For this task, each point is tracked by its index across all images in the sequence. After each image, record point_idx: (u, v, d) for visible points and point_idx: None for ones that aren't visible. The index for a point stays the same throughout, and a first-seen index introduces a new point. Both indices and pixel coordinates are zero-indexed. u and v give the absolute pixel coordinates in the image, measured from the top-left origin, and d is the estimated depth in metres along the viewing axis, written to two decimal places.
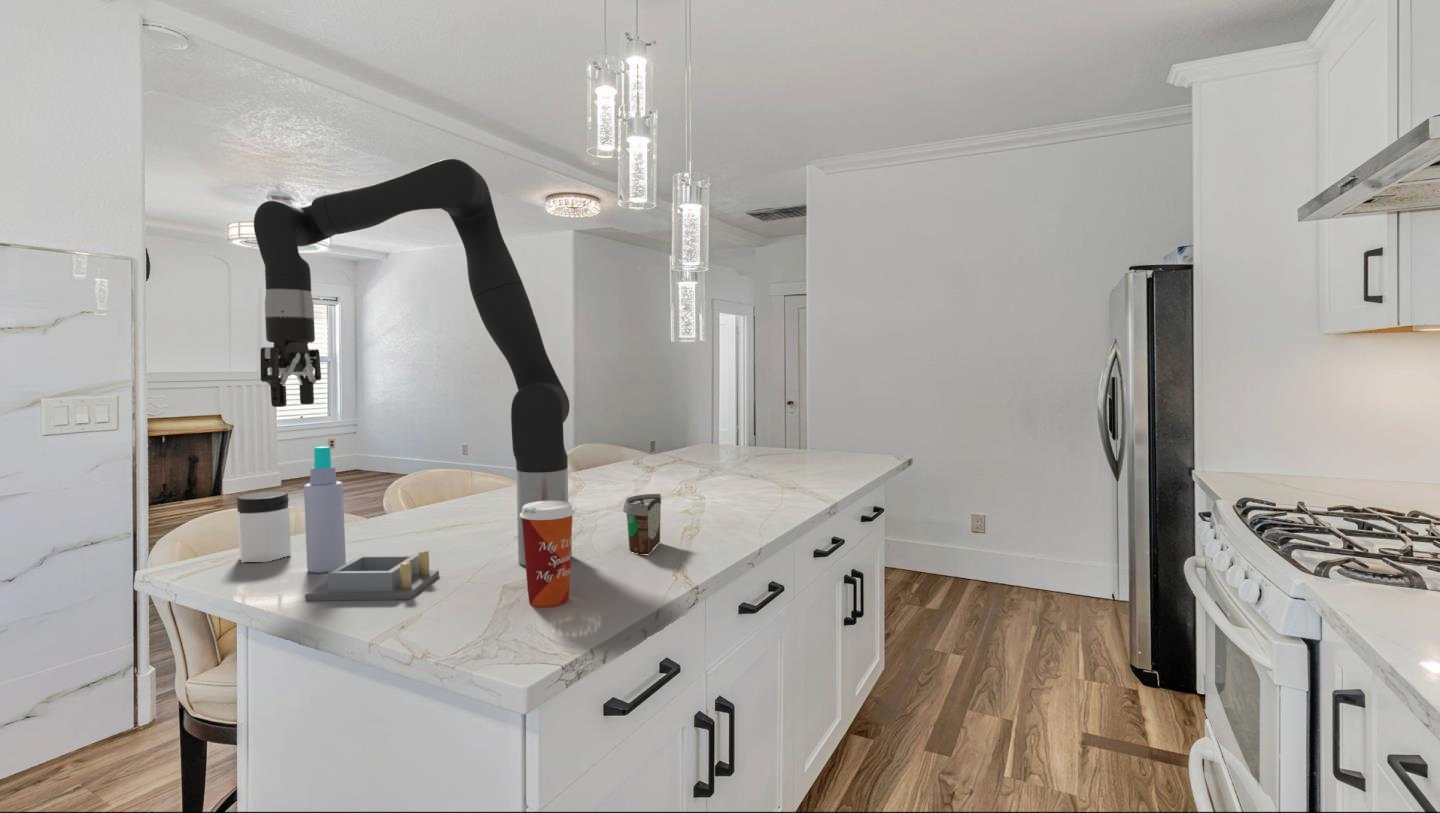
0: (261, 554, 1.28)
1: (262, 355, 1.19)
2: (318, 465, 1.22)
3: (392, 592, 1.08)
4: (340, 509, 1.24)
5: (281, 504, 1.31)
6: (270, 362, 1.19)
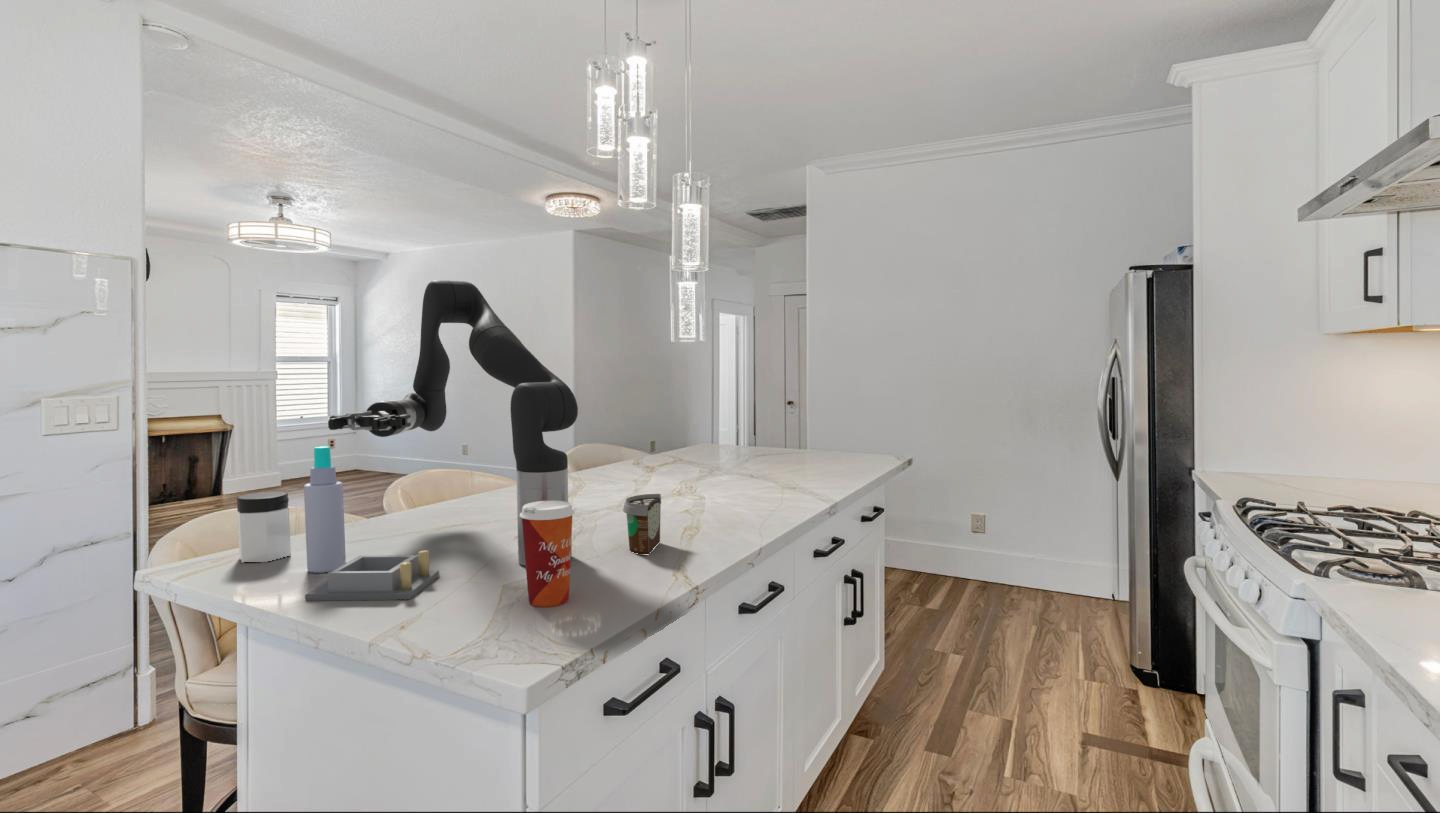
0: (261, 554, 1.28)
1: None
2: (318, 465, 1.22)
3: (392, 592, 1.08)
4: (340, 509, 1.24)
5: (281, 504, 1.31)
6: None
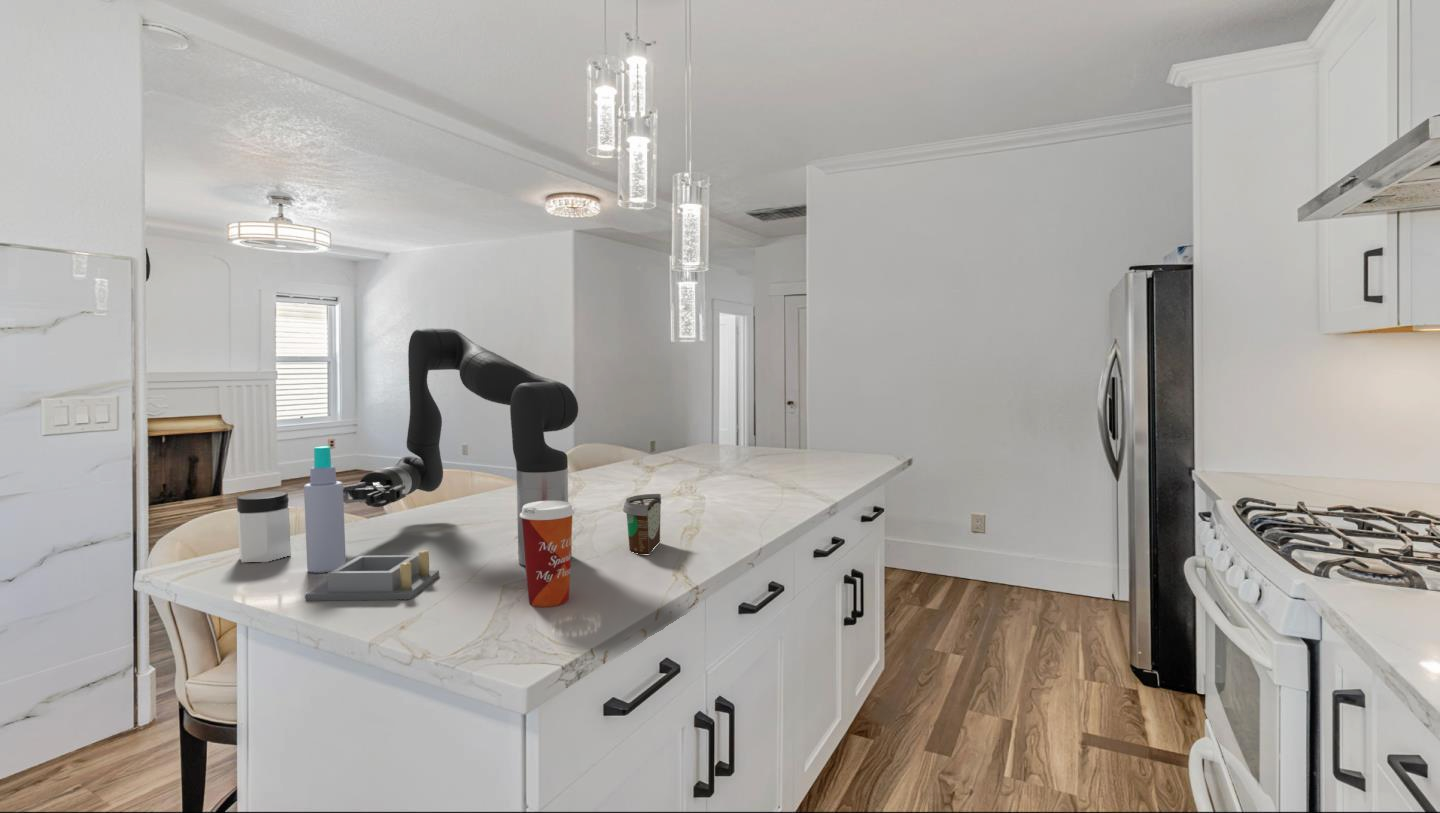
0: (261, 554, 1.28)
1: None
2: (318, 465, 1.22)
3: (392, 592, 1.08)
4: (340, 509, 1.24)
5: (281, 504, 1.31)
6: None
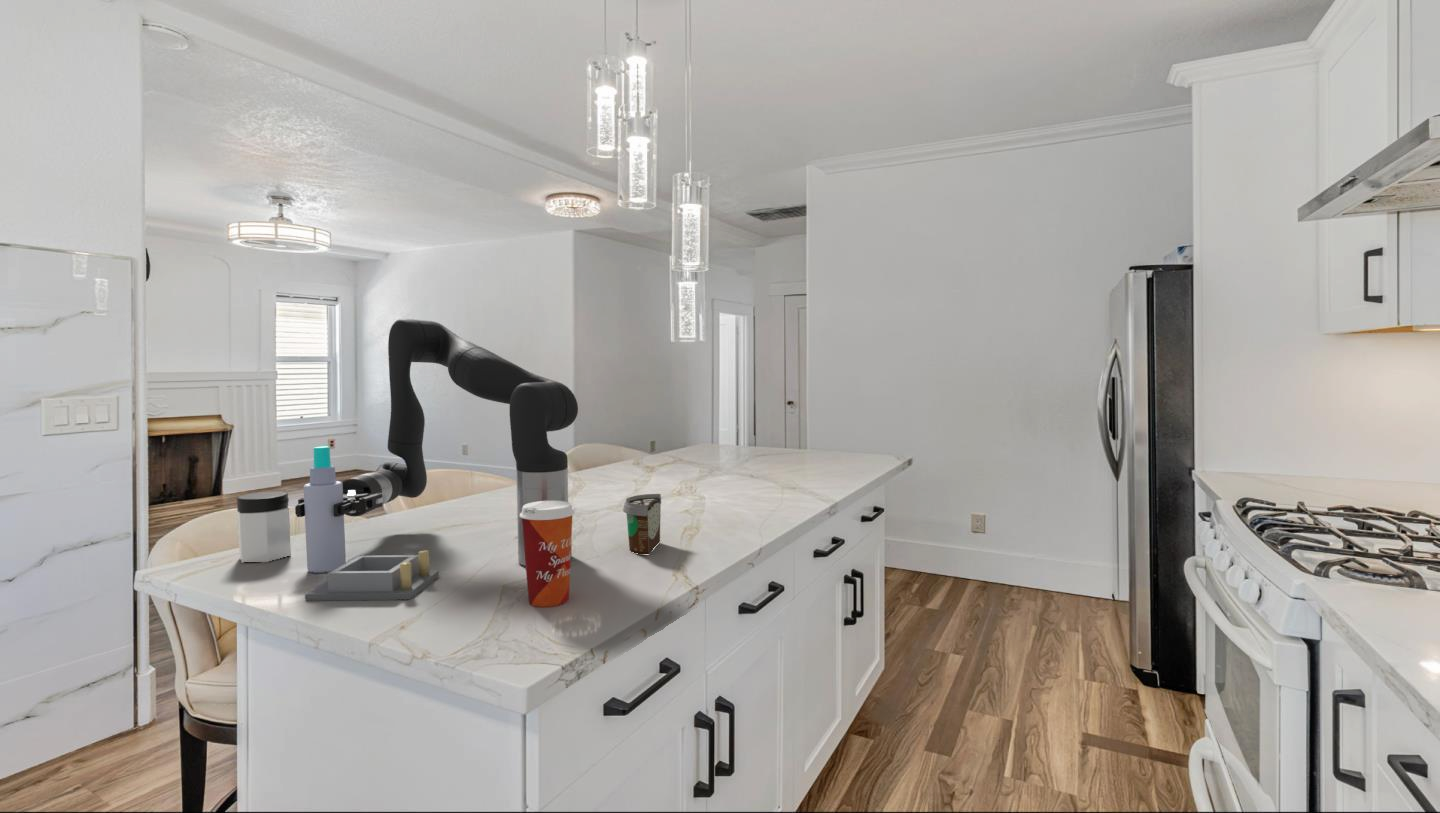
0: (261, 554, 1.28)
1: None
2: (317, 465, 1.22)
3: (392, 592, 1.08)
4: None
5: (281, 504, 1.31)
6: None
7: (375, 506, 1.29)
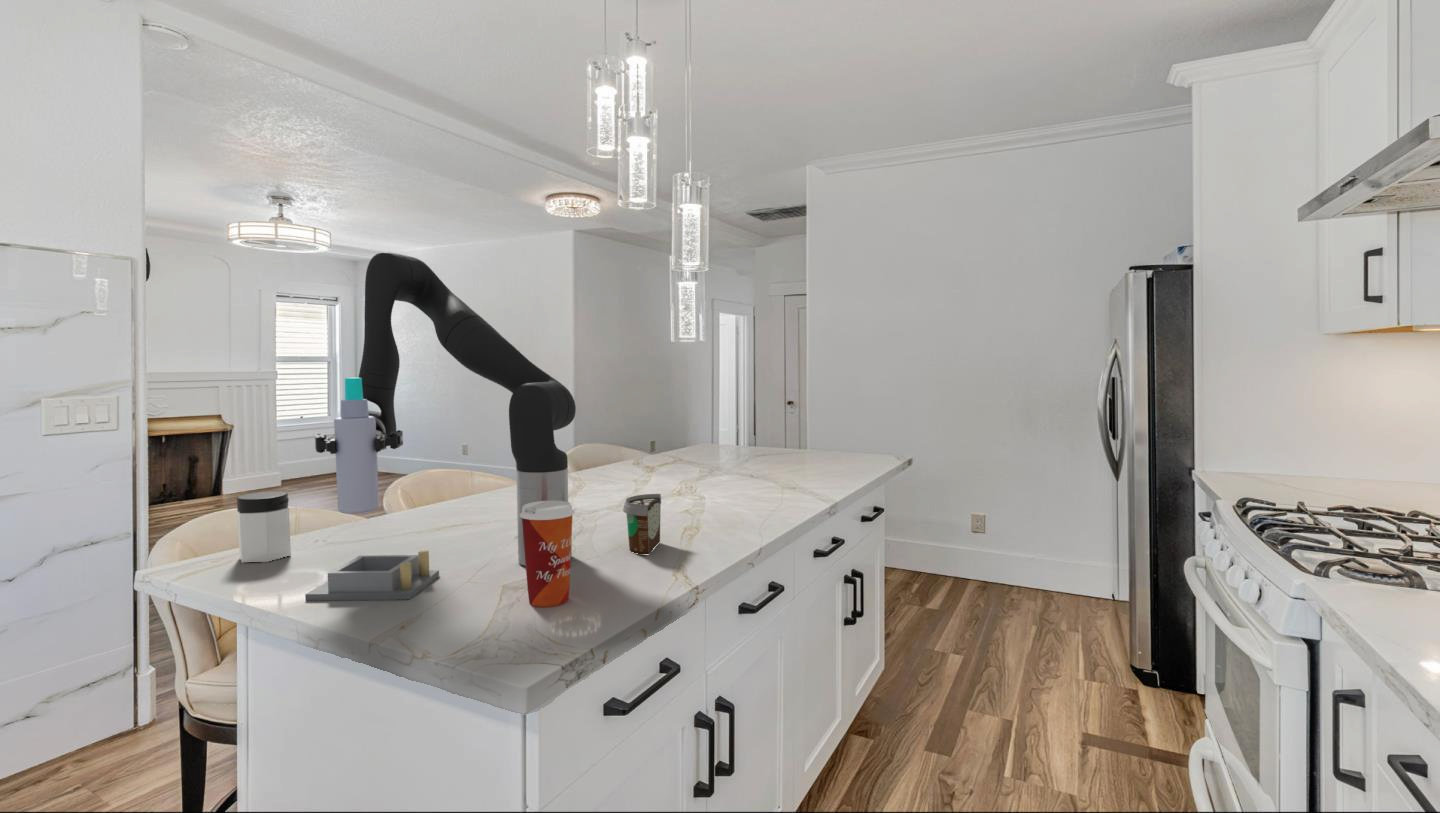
0: (261, 554, 1.28)
1: (315, 447, 1.17)
2: (353, 397, 1.12)
3: (392, 592, 1.08)
4: None
5: (281, 504, 1.31)
6: (315, 440, 1.16)
7: (400, 443, 1.22)
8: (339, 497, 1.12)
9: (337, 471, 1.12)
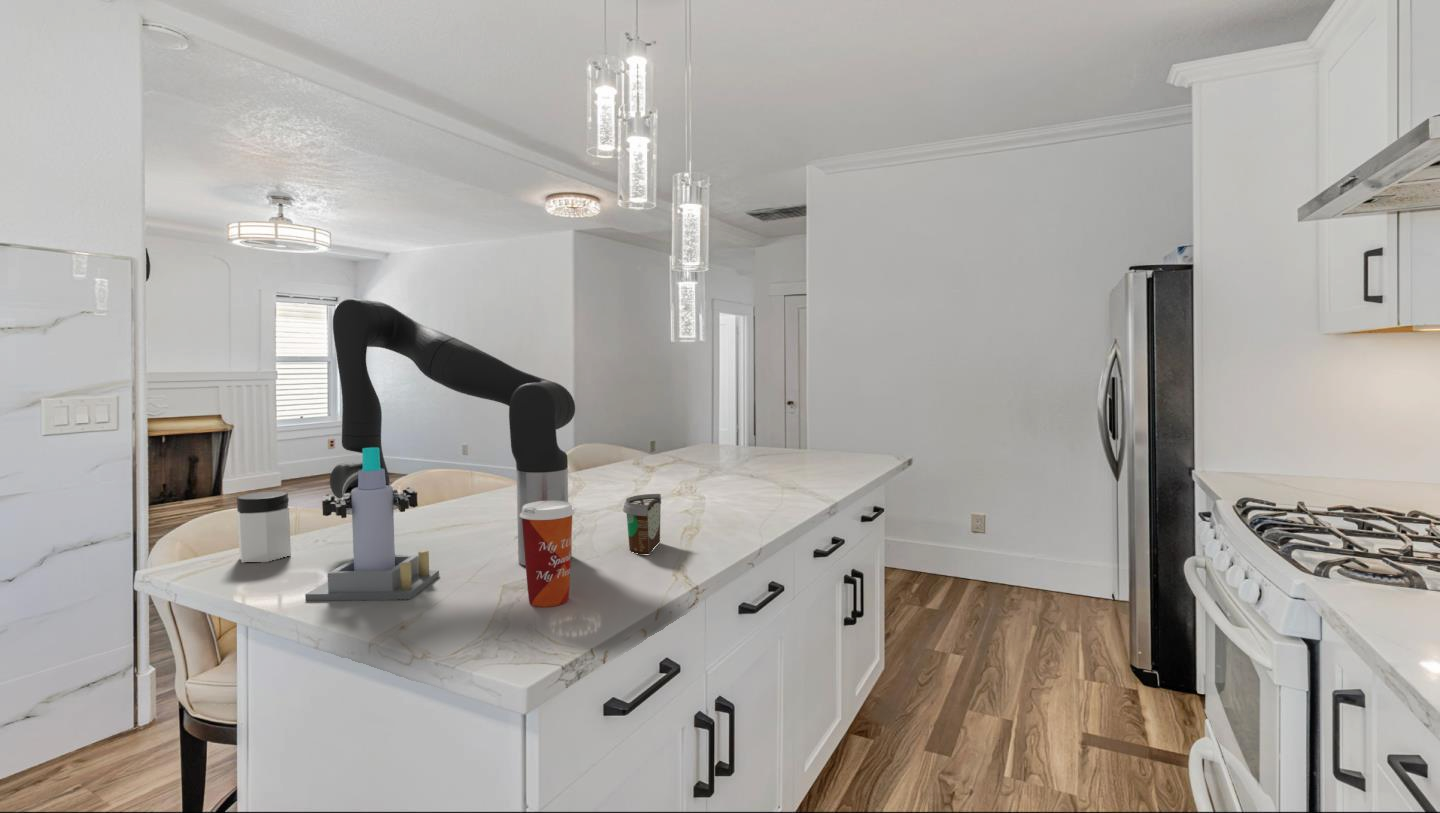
0: (261, 554, 1.28)
1: None
2: (371, 468, 1.12)
3: (392, 592, 1.08)
4: (392, 514, 1.14)
5: (281, 504, 1.31)
6: None
7: None
8: (357, 570, 1.11)
9: (355, 543, 1.11)
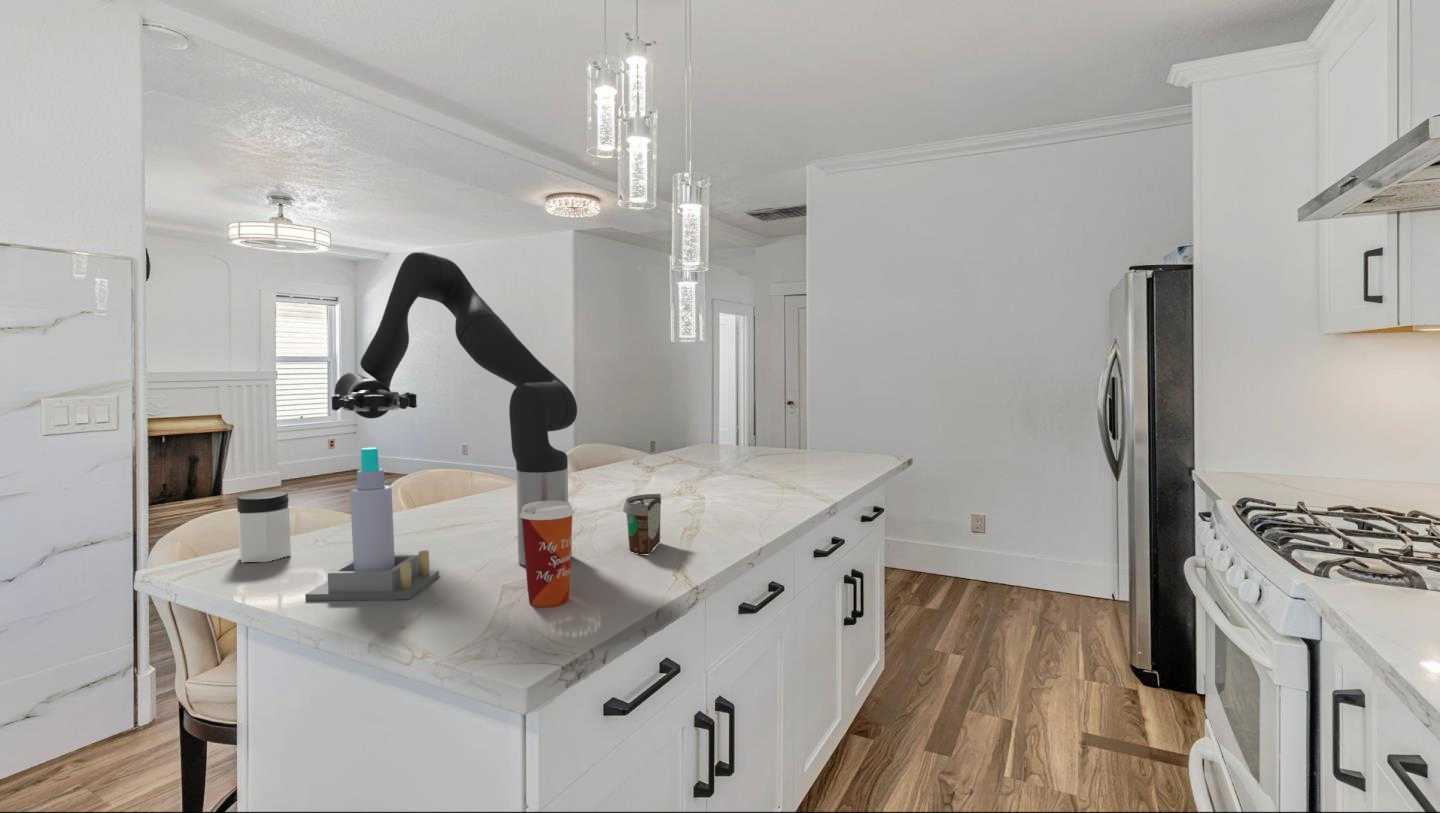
0: (261, 554, 1.28)
1: None
2: (370, 468, 1.11)
3: (392, 592, 1.08)
4: (391, 514, 1.14)
5: (281, 504, 1.31)
6: None
7: None
8: (357, 570, 1.11)
9: (354, 544, 1.11)
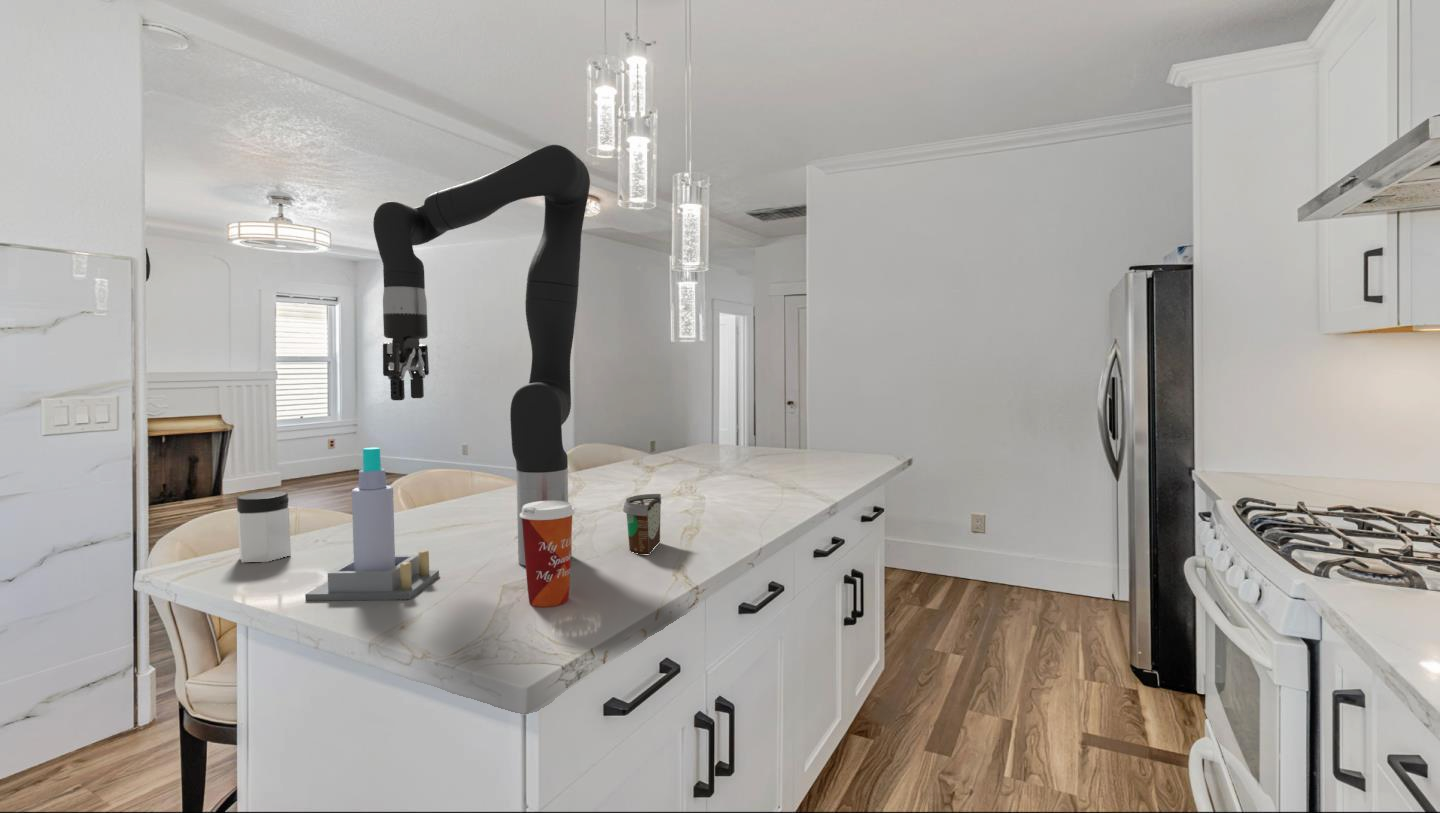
0: (261, 554, 1.28)
1: (384, 350, 1.23)
2: (372, 468, 1.11)
3: (392, 592, 1.08)
4: (393, 515, 1.14)
5: (281, 504, 1.31)
6: (392, 357, 1.23)
7: None
8: (357, 570, 1.11)
9: (355, 543, 1.11)
